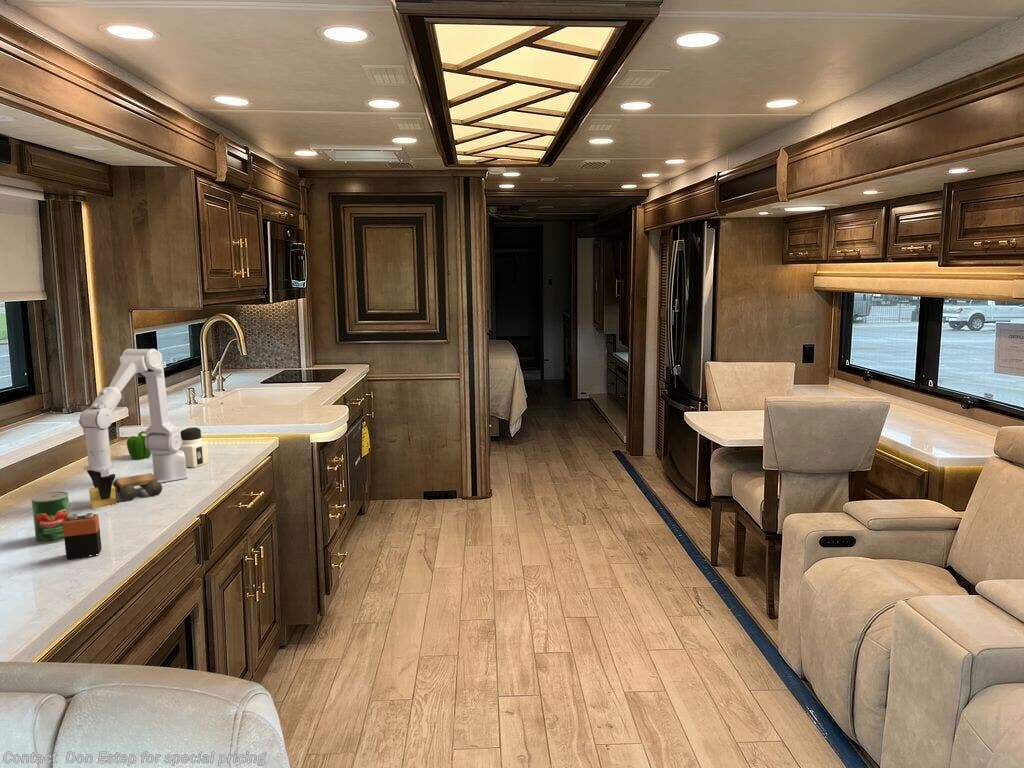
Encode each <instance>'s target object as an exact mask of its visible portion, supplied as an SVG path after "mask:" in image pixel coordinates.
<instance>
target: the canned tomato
mask: <svg viewBox="0 0 1024 768" xmlns="http://www.w3.org/2000/svg"><path fill="white" fill-rule="evenodd" d="M30 501H31V504H32V505H31V507H32V514H33V515H32V517H33V525H34V536H35V542H36V543H37V544H40V543H48V544H55V543H60V542H63V541H65V540H64V531H63V522H64V521H65V519H66V518H67V516H68V515H70V514H71V512H70V510H71V509H70V500H69V492H66V491H50V492H45V493H41V494H37V495H34V496H33V497H32V498H31V499H30ZM59 541H60V542H59ZM54 542H55V543H54Z"/></svg>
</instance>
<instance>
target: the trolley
mask: <svg viewBox="0 0 1024 768" xmlns="http://www.w3.org/2000/svg"><path fill="white" fill-rule="evenodd" d="M112 485H113V486H115V487H116V488H117V490H118V496H119V497H120V499H122V500H123V501H127V500H130V501H133V500H135V498H136V497H137V494H138V493H137V488H135V487H138V486H139V487H140V488H141V489H143V490H145V492H146V493H147V494H148V495H149V496H151V497H155V496H154V495H157V496H159V495H160V494H161V493H162V491H163V485H162V483H159V482H158V478H157V477H155V476H154V473H152V472H151V473H150V472H149V473H143V474H139V475H130V476H125V477H119V478H114V480H113V483H112ZM127 502H128V501H127Z"/></svg>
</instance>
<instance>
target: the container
mask: <svg viewBox="0 0 1024 768" xmlns="http://www.w3.org/2000/svg"><path fill="white" fill-rule="evenodd" d="M201 432H202V431H201V428H200V427H186V428H185V427H184V428H182V429H181V430H179V434H180V436H181V439H182V444H181V447H180V449H179V450H182V451H183V452H184V455H185V460H186V468H188V467H191V468H190V469H194V467H195V468H197V466H198V467H201V466H204V465H207V464H210V455H209V454H210V453H209V442H208V441H204V440H202V433H201Z"/></svg>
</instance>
